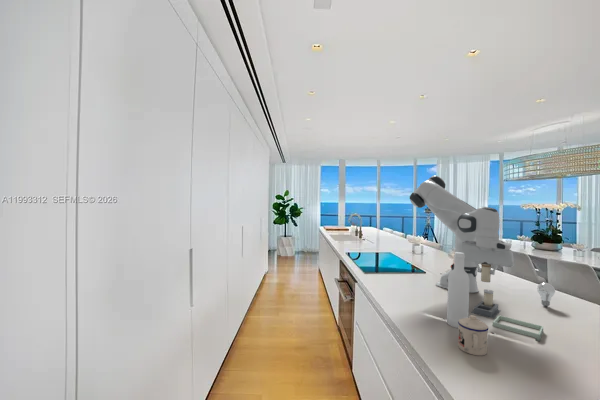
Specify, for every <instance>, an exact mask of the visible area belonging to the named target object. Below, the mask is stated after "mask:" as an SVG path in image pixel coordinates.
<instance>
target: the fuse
mask: <svg viewBox="0 0 600 400" xmlns="http://www.w3.org/2000/svg"><path fill="white" fill-rule="evenodd" d="M483 301H484V305H487V306H491V307H493V304H494V290H492V289H488V288H487V289H483Z"/></svg>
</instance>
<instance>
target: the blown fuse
mask: <svg viewBox="0 0 600 400" xmlns="http://www.w3.org/2000/svg"><path fill="white" fill-rule="evenodd" d="M480 264H481V266H480V268H481V273H480V282H482V283H483V282H484V283H491V276H492V275H491V274H490V270H492V264H488V263H487V262H484V263H480Z"/></svg>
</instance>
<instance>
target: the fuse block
mask: <svg viewBox="0 0 600 400" xmlns="http://www.w3.org/2000/svg"><path fill="white" fill-rule="evenodd" d="M501 311H502V310H501V309H499V304H497V303H493V307H491V306H487V305H484V300H481V301H480V302H479V303H477V304H476V305H475V306H474V307H473V310H472V311H470V313H471V314H473V315H474V314H475V315H479V316H481V317H482V316H483V317H486V318H490V319H494V320H495V319H496V318H497V317H498V316H499V314H500V312H501Z"/></svg>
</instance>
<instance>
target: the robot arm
mask: <svg viewBox="0 0 600 400" xmlns="http://www.w3.org/2000/svg"><path fill="white" fill-rule="evenodd" d="M409 200H410V203H411V204H412V205H413V206H414V207H416V208H419V209H422V208H424V207H425V206H427V208H428V209H429V210H430V211H431V212H432V214H433V215H434V216H435V217H436V218H437V219H438V220H440V222H441V223H442V224H444V226H446V227H447V228H448V229H449V230H450V231H451V232H452V233H453V234H454V235H455V236H454V237H455V241H454V242H455V246H454V247H455V248H454V253H455V252H461V253H464V256H465V258H464V271H465V272H466V273H467V274H468V276H469V294H471V293H472V294H473V293H478V292H479V291H480V290H479V288H478V282H477V275H478V273H480V274H481V266H480V264H482V263H484V262H487V263H488V264H491V266H492V265H493V266H492V267H493V269H491V270H490V274H491V276H492V275H493V276H494V275H495V274H496V270H497V268H499V267H500V266H501V267H505V268H512V267H513V266H515V257H514V253H513V250H512V244H510V243H509V242H506V241H503V240H501V239H500V235H499V230H500V214H499V211H498V209H496V208H493V207H489V206H480V207H478V208H475V207H473V206H472V205H471V204H470V203H467V202H466V201H464V200H462V199H460V198H459V197H457V196H455V195H454V194H452V193H451V192H450V191H448V190H447V189H446V183H445V181H444V180H443V178H442V177H440V176H438V175H432V176H430V177H429V178H428V179H426V180H425V181H423V182H422V183H420V185H419V186H418V187H417V188H416V189H415V190H414V191H413V192H412V193H410V195H409ZM450 268H451V269H450V270H448V271H446V272H445V273H442V275H441V276H440V279H439V281H437V282H436V283H435V286H436V287H439V288H443V289H447V290H448V276H449V273H450V272H451V271H452V270H453V269H454V262H453V263H452V264H451V265H450Z"/></svg>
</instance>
